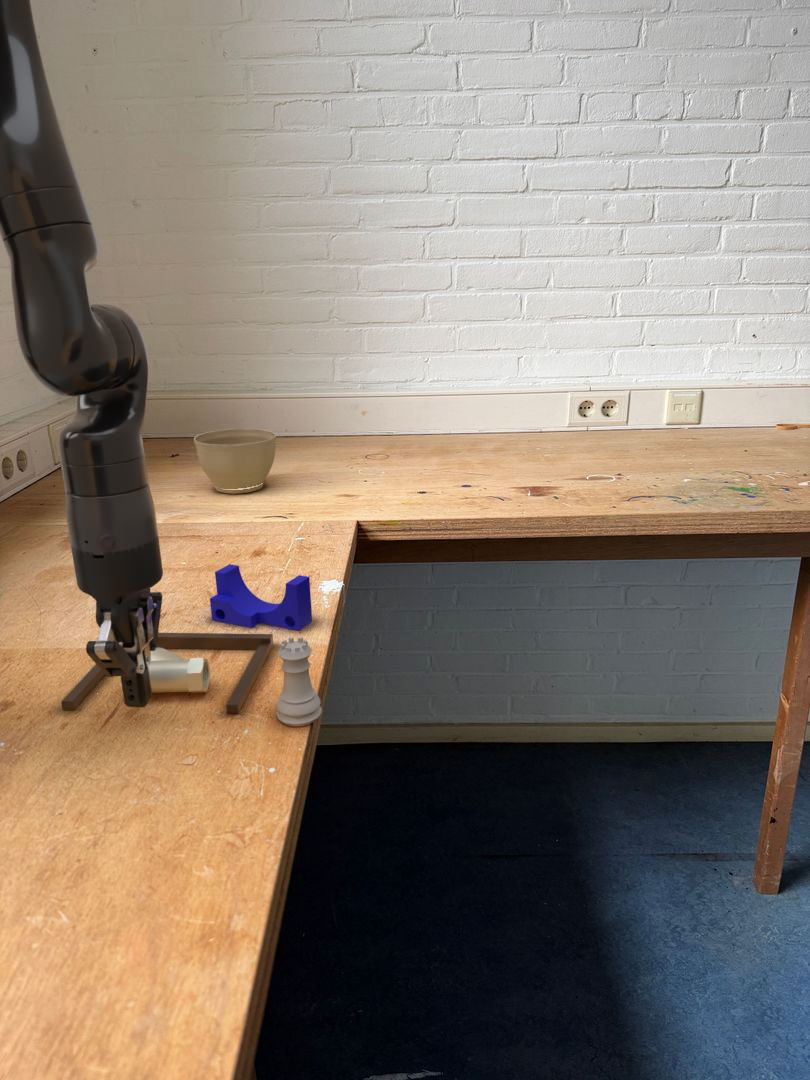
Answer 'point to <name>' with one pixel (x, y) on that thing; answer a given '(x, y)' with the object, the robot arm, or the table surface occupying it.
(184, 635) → the frame
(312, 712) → the rook chess piece
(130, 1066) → the table surface
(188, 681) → the pipe fitting
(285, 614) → the blue saddle bracket
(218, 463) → the planter bowl
